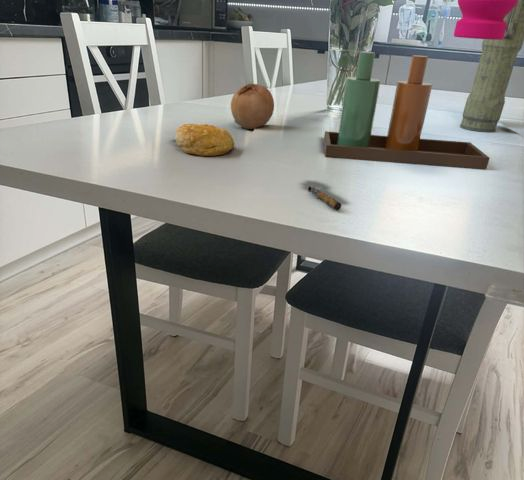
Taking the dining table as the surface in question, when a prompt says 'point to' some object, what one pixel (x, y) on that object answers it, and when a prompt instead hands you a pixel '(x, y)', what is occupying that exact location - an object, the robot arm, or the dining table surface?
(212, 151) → the bread roll
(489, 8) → the pepper mill
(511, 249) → the dining table surface
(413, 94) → the amber bottle
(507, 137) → the dining table surface
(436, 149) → the tray
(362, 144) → the green bottle
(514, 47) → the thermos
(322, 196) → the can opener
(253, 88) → the onion
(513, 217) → the dining table surface
